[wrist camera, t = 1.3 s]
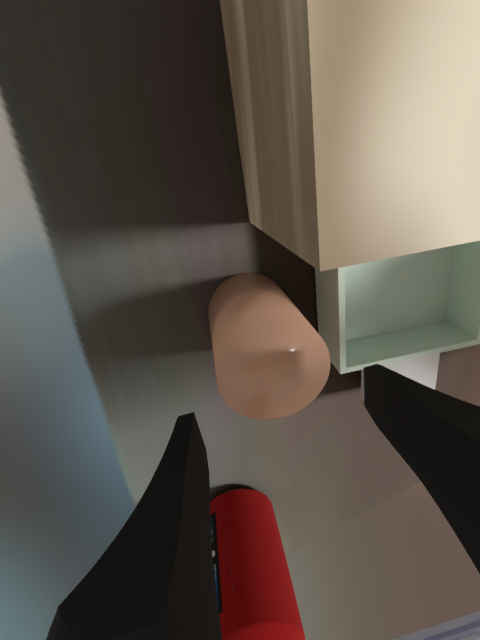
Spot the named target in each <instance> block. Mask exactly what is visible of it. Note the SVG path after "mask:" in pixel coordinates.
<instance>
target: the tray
mask: <svg viewBox="0 0 480 640" xmlns="http://www.w3.org/2000/svg"><path fill="white" fill-rule="evenodd" d="M315 280H316V298H317V317H318V334H319V335H320V336H321V337H322V339H323V340H324V342H325V343H326V345H327V348H328V350H329V354H330V361H331V363H332V364H333V365H334V367H335V368H336V369H337V371H338V372H339V373H340V374H344V373H349V372H353V371H358V370H361V397H362V399H363V400H364V367H367V366H371V365H374V364H379V365H382V366H384V367H386V368H388V369H390V370H393V371H395V372H397V373H399V374H401V375H403V376H405V377H407V378H410V379H412V380H414V381H416V382H418V383H421V384H423V385H425V386H427V387H430V388H432V389H434V390H435V386H436V379H437V371H438V364H439V357H440V353H441V352H445V351H450V350H455V349H459V348H464V347H468V346H473V345H478V344H480V241H475V242H470V243H464V244H459V245H454V246H449V247H444V248H439V249H434V250H428V251H423V252H418V253H413V254H408V255H403V256H398V257H393V258H387V259H382V260H377V261H372V262H367V263H362V264H357V265H351V266H346V267H341V268H336V269H331V270H326V271H321V272H320V271H319V270H317V269H316V268H315Z"/></svg>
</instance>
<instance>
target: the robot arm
mask: <svg viewBox="0 0 480 640" xmlns="http://www.w3.org/2000/svg"><path fill="white" fill-rule="evenodd" d="M364 405H365V407H366V409H367V411H368V412H369V414H370V416H371V417H372V419H373V420H374V422H375V423H376V425H377V427H378V428H379V429H380V430H381V432H382V433H383V434H384V435H385V437H386V438H387V439H388V440H389V442H390V443H391V444H392V445H393V447H394V448H395V449H396V450H397V452H398V453H399V454H400V455H401V456H402V458H403V459H404V460H405V461H406V463H407V464H408V465H409V466H410V467H411V469H412V470H413V471H414V472H415V474H416V475H417V476H418V478H419V479H420V480H421V482H422V483H423V484H424V486H425V487H426V489H427V490H428V492H429V493H430V495H431V496H432V498H433V499H434V501H435V502H436V504H437V505H438V507H439V508H440V510H441V511H442V513H443V515H444V516H445V518H446V519H447V521H448V522H449V524H450V525H451V527H452V529H453V530H454V532H455V533H456V535H457V537H458V538H459V540H460V541H461V543H462V545H463V546H464V548H465V550H466V551H467V553H468V555H469V556H470V558H471V560H472V561H473V563H474V565H475V566H476V568H477V570H478V572H479V573H480V407H479V406H476V405H473V404H470V403H467V402H465V401H462V400H459V399H456V398H454V397H451V396H449V395H446V394H444V393H441V392H439V391H437V390H434V389H432V388H430V387H427V386H425V385H423V384H421V383H418V382H416V381H414V380H412V379H410V378H407V377H405V376H403V375H401V374H399V373H397V372H395V371H393V370H390V369H388V368H386V367H384V366H382V365H379V364H374V365H371V366H367V367H364ZM46 640H222V633H221V625H220V617H219V609H218V601H217V593H216V584H215V576H214V566H213V557H212V548H211V533H210V487H209V469H208V461H207V454H206V448H205V445H204V442H203V439H202V436H201V433H200V430H199V427H198V424H197V421H196V417H195V414H194V412H193V413H189V414H185V415H182V416H179V417H178V418H177V420H176V423H175V426H174V429H173V432H172V435H171V437H170V440H169V443H168V445H167V447H166V450H165V452H164V454H163V457H162V459H161V461H160V463H159V466H158V468H157V470H156V472H155V474H154V476H153V478H152V480H151V482H150V484H149V485H148V487H147V489H146V491H145V493H144V494H143V496H142V498H141V500H140V501H139V503H138V505H137V506H136V508H135V510H134V511H133V513H132V514H131V516H130V517H129V519H128V520H127V522H126V524H125V525H124V526H123V528H122V529H121V531H120V532H119V534H118V535H117V536H116V538H115V539H114V541H113V542H112V543H111V544H110V546H109V547H108V549H107V550H106V551H105V552H104V554H103V555H102V556H101V558H100V559H99V560H98V561H97V563H96V564H95V565H94V566H93V568H92V569H91V570H90V572H89V573H88V574H87V575H86V576H85V577H84V578H83V579H82V581H81V582H80V583H79V584H78V585H77V586H76V587H75V589H74V590H73V591H72V592H71V593H70V594H69V595H68V597H67V598H66V599H65V600H64V601H63V602H62V603H61V604H60V605H59V606H58V609H57V612H56V615H55V617H54V620H53V622H52V625H51V627H50V630H49V633H48V636H47V639H46ZM393 640H480V611H478V612H475V613H472V614H469V615H466V616H462V617H460V618H456V619H453V620H450V621H447V622H445V623H441V624H439V625H435V626H432V627H429V628H426V629H423V630H420V631H417V632H414V633H411V634H408V635H405V636H402V637H399V638H396V639H393Z"/></svg>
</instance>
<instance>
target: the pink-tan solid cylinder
mask: <svg viewBox="0 0 480 640" xmlns="http://www.w3.org/2000/svg"><path fill="white" fill-rule="evenodd" d="M208 316H209V324H210V332H211V340H212V348H213V356H214V363H215V371H216V379H217V386H218V389H219V392H220V394H221V396H222V398H223V399H224V401H225V402H226V403H227V404H228V405H229V406H230V407H231V408H232V409H233V410H235V411H236V412H238V413H240V414H242V415H244V416H247V417H251V418H255V419H277V418H282V417H285V416H288V415H291V414H294V413H296V412H298V411H300V410H301V409H303V408H304V407H306V406H307V405H308V404H310V403H311V402H312V401H313V400H314V399H315V398H316V397H317V396H318V395H319V393H320V392H321V391H322V389H323V387H324V386H325V384H326V382H327V379H328V376H329V372H330V363H331V361H330V354H329V350H328V348H327V345H326V343H325V342H324V340H323V339H322V337H321V336H320V335H319V334H318V333H317V331H316V330H315V329H314V328H313V327H312V325H311V324H310V323H309V322H308V321H307V319H306V318H305V317H304V316H303V315H302V313H301V312H300V311H299V310H298V309H297V307H296V306H295V305H294V304H293V303H292V301H291V300H290V299H289V298H288V297H287V295H286V294H285V293H284V292H283V291H282V289H281V288H280V287H279V286H278V285H277V284H276V283H275V282H274V281H273V280H272V279H270V278H268V277H267V276H264V275H261V274H258V273H241V274H238V275H235V276H232V277H230V278H228V279H227V280H225V281H224V282H222V283H221V284H220V285H219V286H218V287H217V289H216V290H215V291H214V293H213V295H212V297H211V299H210V302H209V308H208Z"/></svg>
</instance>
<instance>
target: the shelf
mask: <svg viewBox="0 0 480 640" xmlns="http://www.w3.org/2000/svg"><path fill="white" fill-rule="evenodd" d="M219 1H220V8H221V16H222V23H223V30H224V38H225V45H226V52H227V60H228V67H229V74H230V82H231V89H232V96H233V104H234V111H235V118H236V126H237V133H238V140H239V148H240V155H241V162H242V170H243V177H244V184H245V192H246V199H247V206H248V213H249V221H250V223H252V224H253V225H254V226H256V227H257V228H259V229H260V230H262V231H263V232H264V233H266V234H267V235H269V236H270V237H272V238H273V239H274V240H276V241H277V242H279V243H280V244H281V245H283V246H284V247H286V248H287V249H289V250H290V251H291V252H293V253H294V254H296V255H297V256H299V257H300V258H301V259H303V260H304V261H306V262H307V263H309V264H310V265H311V266H313V267H314V268H316V269H317V270H319V271H320V272H321V271H326V270H331V269H336V268H341V267H346V266H351V265H357V264H362V263H367V262H372V261H377V260H382V259H387V258H393V257H398V256H403V255H408V254H413V253H418V252H423V251H428V250H434V249H439V248H444V247H449V246H454V245H459V244H464V243H470V242H475V241H480V0H219Z"/></svg>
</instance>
